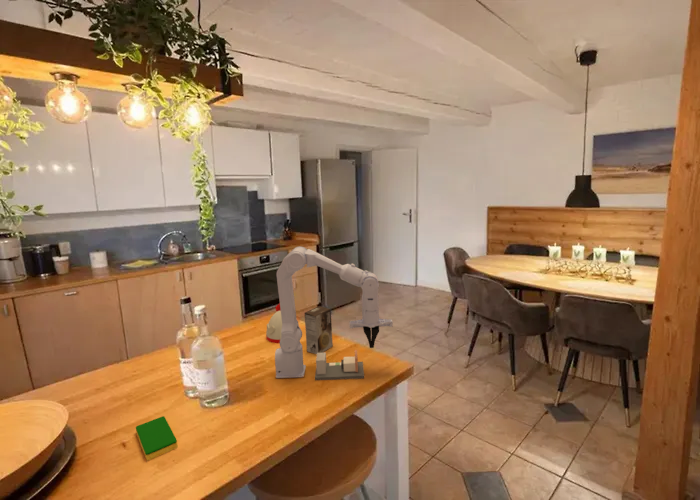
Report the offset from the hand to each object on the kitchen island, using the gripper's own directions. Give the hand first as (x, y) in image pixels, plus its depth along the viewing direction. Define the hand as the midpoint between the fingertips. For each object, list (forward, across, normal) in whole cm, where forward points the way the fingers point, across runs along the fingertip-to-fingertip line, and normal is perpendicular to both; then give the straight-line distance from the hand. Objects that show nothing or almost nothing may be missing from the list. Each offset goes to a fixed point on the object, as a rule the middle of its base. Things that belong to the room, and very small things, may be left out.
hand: (371, 346), depth 128 cm
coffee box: (+9, -20, +19) cm, 29 cm away
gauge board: (+9, -11, 0) cm, 14 cm away
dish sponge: (+10, -59, -32) cm, 68 cm away
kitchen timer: (+9, -36, +33) cm, 50 cm away
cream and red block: (+8, -8, +1) cm, 11 cm away
